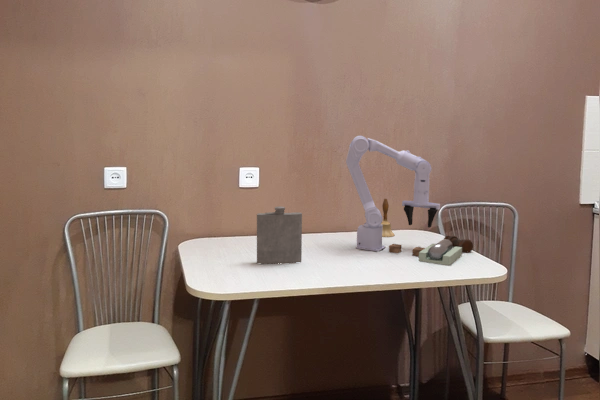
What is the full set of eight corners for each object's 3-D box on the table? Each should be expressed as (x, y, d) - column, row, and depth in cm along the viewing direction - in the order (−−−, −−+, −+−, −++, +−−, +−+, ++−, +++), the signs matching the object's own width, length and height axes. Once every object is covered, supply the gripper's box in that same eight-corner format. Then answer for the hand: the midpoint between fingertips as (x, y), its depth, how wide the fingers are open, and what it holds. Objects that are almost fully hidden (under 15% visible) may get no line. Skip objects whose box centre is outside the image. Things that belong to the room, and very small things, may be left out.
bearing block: (388, 252, 218) (389, 245, 218) (392, 250, 221) (392, 243, 221) (421, 256, 212) (421, 250, 211) (424, 254, 215) (425, 248, 215)
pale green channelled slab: (418, 260, 206) (419, 252, 205) (432, 251, 220) (432, 243, 219) (449, 265, 200) (450, 256, 200) (461, 255, 214) (462, 247, 213)
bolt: (448, 248, 233) (468, 256, 219) (438, 242, 232) (458, 250, 217) (454, 235, 233) (475, 242, 219) (445, 230, 232) (465, 237, 217)
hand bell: (389, 238, 242) (391, 200, 239) (371, 235, 246) (373, 199, 243) (397, 234, 249) (398, 198, 246) (379, 232, 253) (381, 196, 250)
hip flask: (300, 260, 205) (301, 205, 202) (302, 263, 201) (303, 207, 198) (256, 262, 202) (256, 206, 199) (257, 265, 198) (257, 208, 195)
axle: (441, 261, 202) (441, 247, 201) (427, 259, 204) (427, 246, 204) (452, 252, 214) (452, 239, 213) (439, 251, 216) (439, 238, 216)
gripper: (399, 190, 219) (398, 225, 221) (436, 194, 212) (435, 229, 214) (406, 188, 225) (404, 222, 227) (442, 191, 218) (440, 226, 220)
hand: (419, 226), depth 221 cm, fingers open, 7 cm apart
